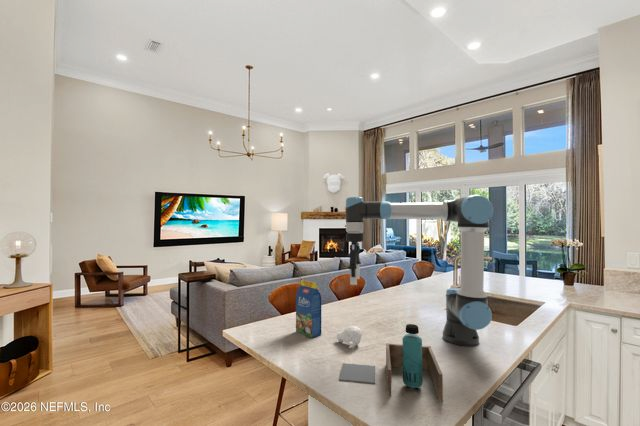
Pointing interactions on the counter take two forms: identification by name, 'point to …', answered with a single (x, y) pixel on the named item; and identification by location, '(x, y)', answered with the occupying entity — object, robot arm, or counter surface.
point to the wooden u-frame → (428, 362)
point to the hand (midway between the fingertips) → (355, 281)
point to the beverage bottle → (412, 357)
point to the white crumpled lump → (350, 336)
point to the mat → (358, 373)
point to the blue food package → (308, 309)
